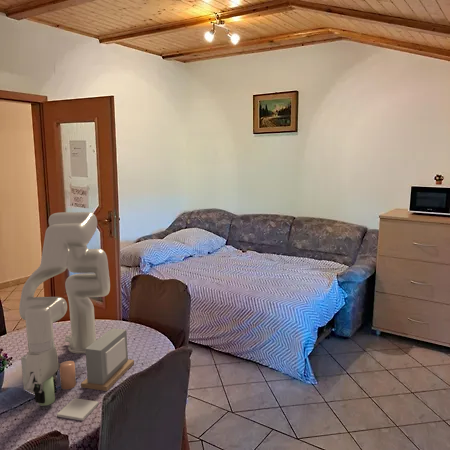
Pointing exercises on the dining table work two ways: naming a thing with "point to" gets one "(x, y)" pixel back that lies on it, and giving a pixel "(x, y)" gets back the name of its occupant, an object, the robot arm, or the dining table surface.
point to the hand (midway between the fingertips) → (46, 396)
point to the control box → (107, 360)
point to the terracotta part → (67, 375)
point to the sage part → (48, 391)
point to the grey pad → (78, 409)
